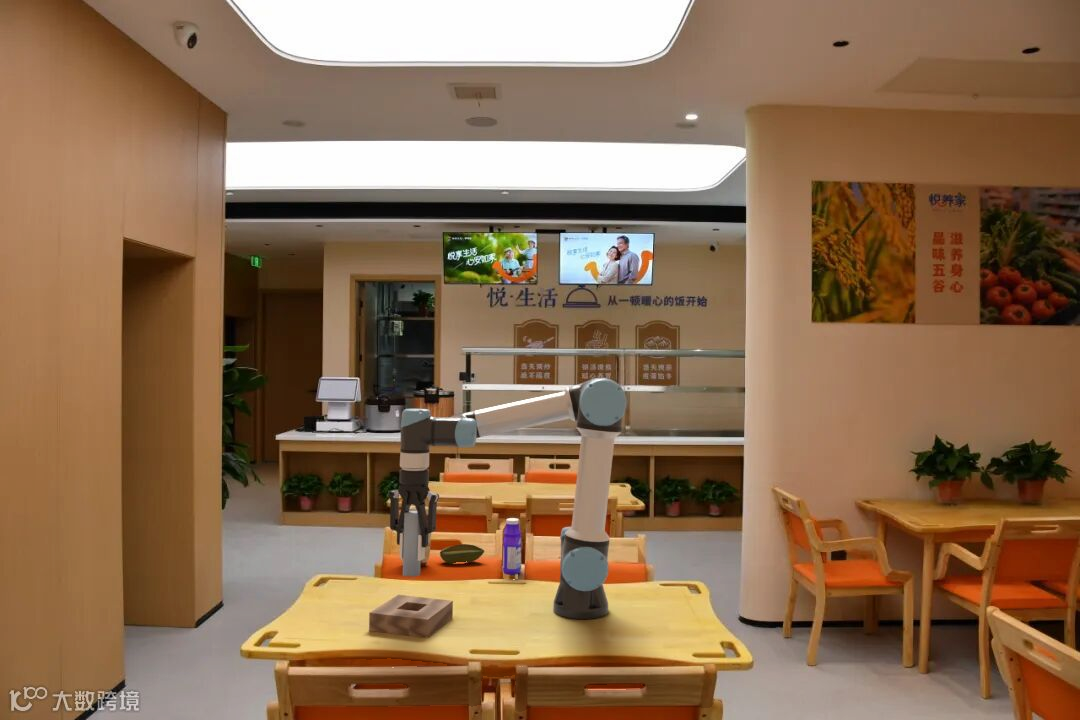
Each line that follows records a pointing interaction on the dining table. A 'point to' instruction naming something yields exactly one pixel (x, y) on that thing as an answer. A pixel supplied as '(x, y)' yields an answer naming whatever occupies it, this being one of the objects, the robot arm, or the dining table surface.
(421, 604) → the socket block
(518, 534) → the bottle
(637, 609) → the dining table surface
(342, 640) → the dining table surface
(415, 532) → the peg
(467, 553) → the fruit
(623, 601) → the dining table surface
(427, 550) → the food model
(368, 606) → the dining table surface
